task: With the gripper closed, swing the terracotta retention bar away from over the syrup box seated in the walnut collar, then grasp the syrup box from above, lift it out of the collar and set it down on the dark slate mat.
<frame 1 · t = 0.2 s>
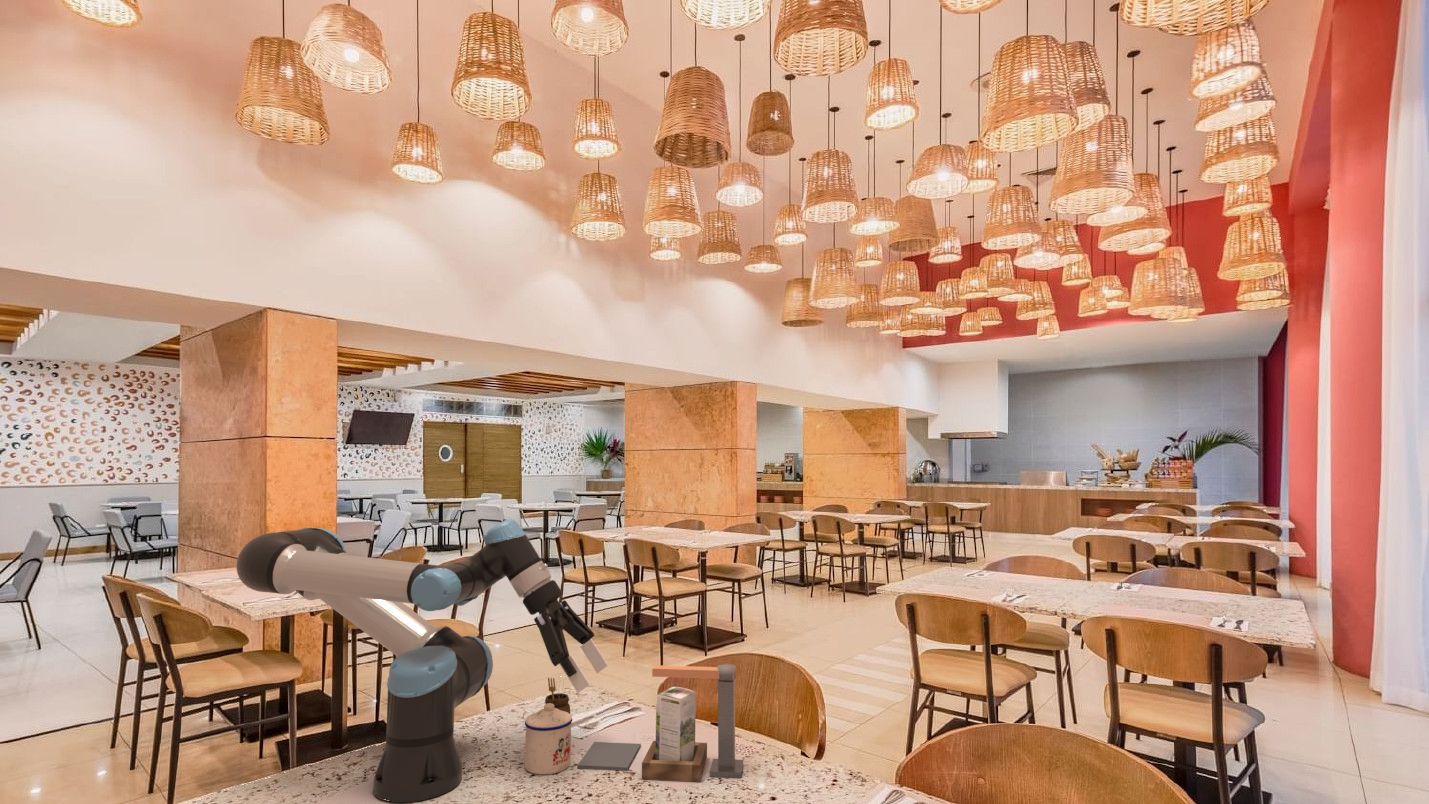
hand: (594, 678, 142), 16 cm above the table, tool tilted 35°, fingers open, 13 cm apart
utensil holder: (556, 730, 159), on the table
syrup box: (675, 769, 138), resting in socket collar
teacup with lid: (550, 764, 140), on the table
clip post: (726, 770, 137), on the table
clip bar: (694, 670, 139), point 18 cm above the table, hinge at 0.0°
slate mat: (610, 757, 143), on the table
socket collar: (675, 768, 138), on the table
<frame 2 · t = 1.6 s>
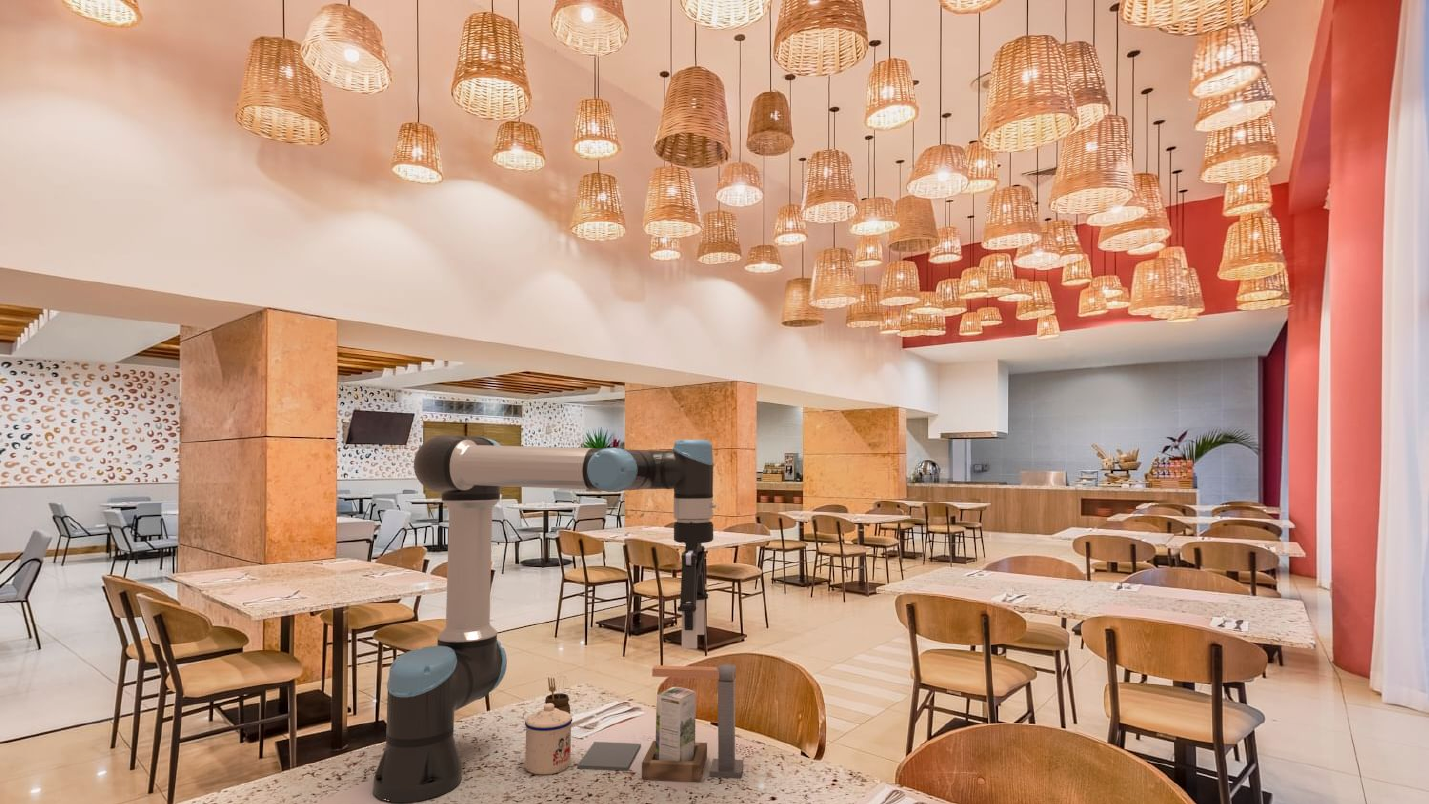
hand: (693, 640, 133), 26 cm above the table, tool pointing down, fingers open, 10 cm apart
nothing on the table moved.
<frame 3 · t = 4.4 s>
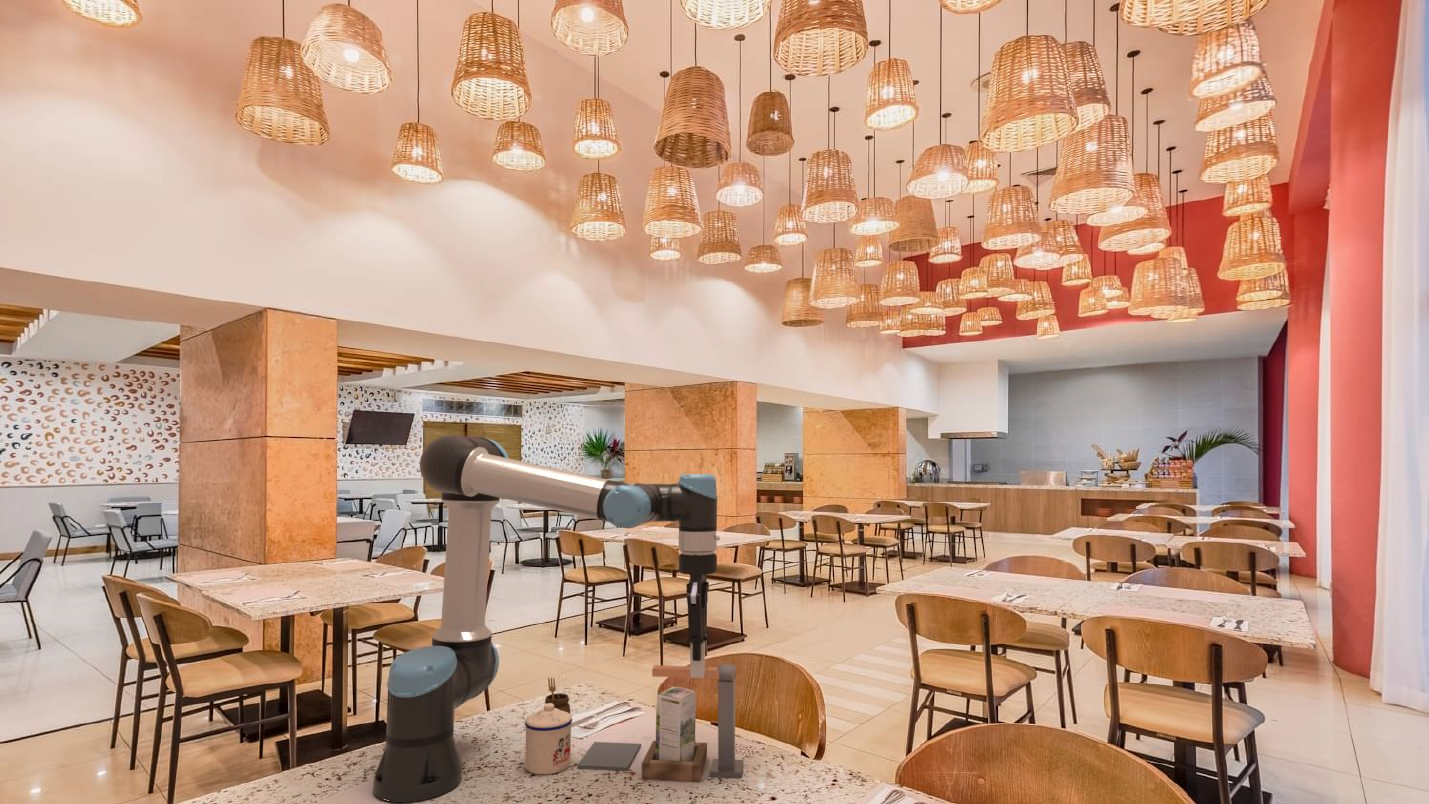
hand: (697, 676, 137), 18 cm above the table, tool pointing down, fingers closed
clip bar: (694, 670, 139), point 18 cm above the table, hinge at 0.3°, touching gripper
everything else where it was.
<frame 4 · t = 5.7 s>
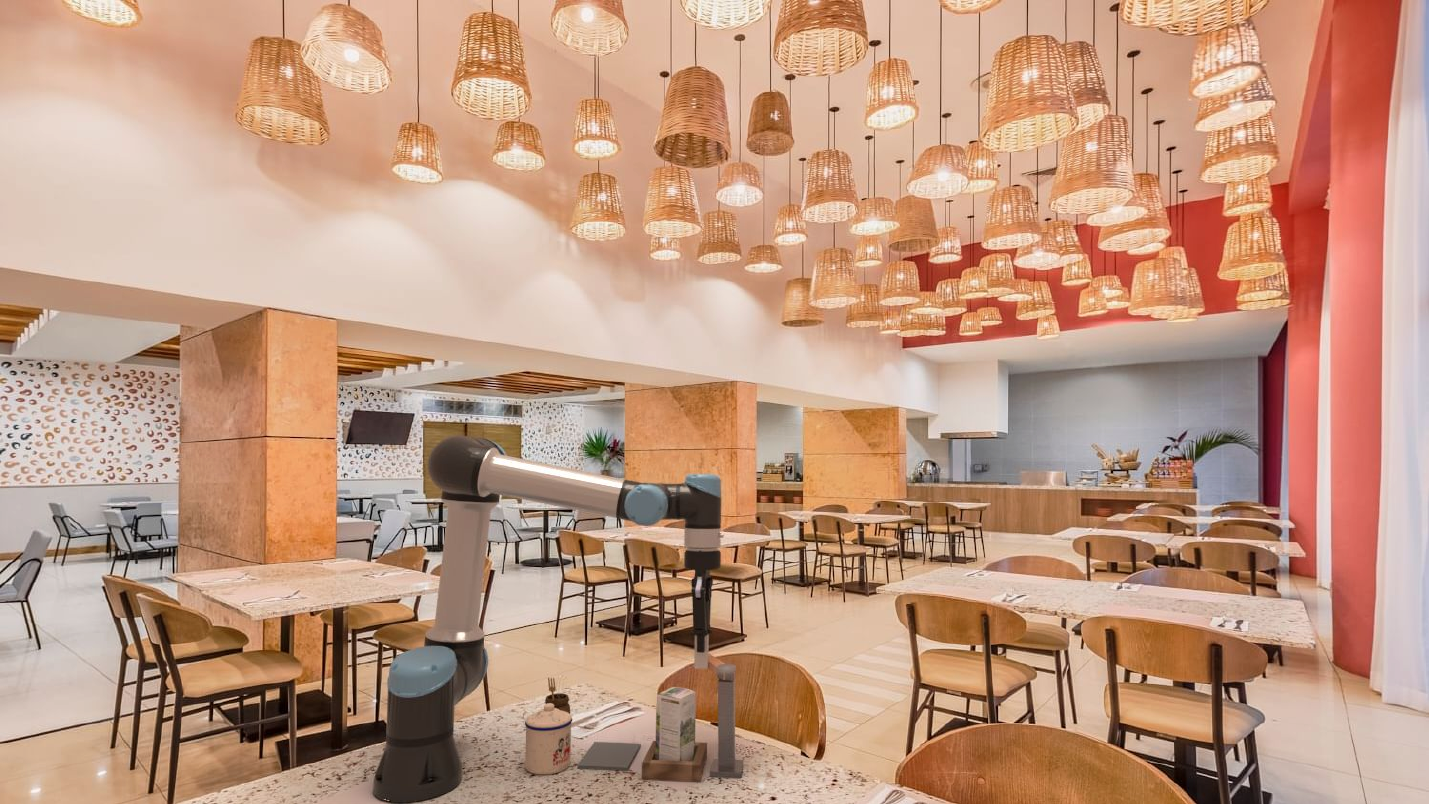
hand: (701, 667, 143), 18 cm above the table, tool pointing down, fingers closed
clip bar: (714, 663, 144), point 18 cm above the table, hinge at 62.1°, touching gripper
everything else where it was.
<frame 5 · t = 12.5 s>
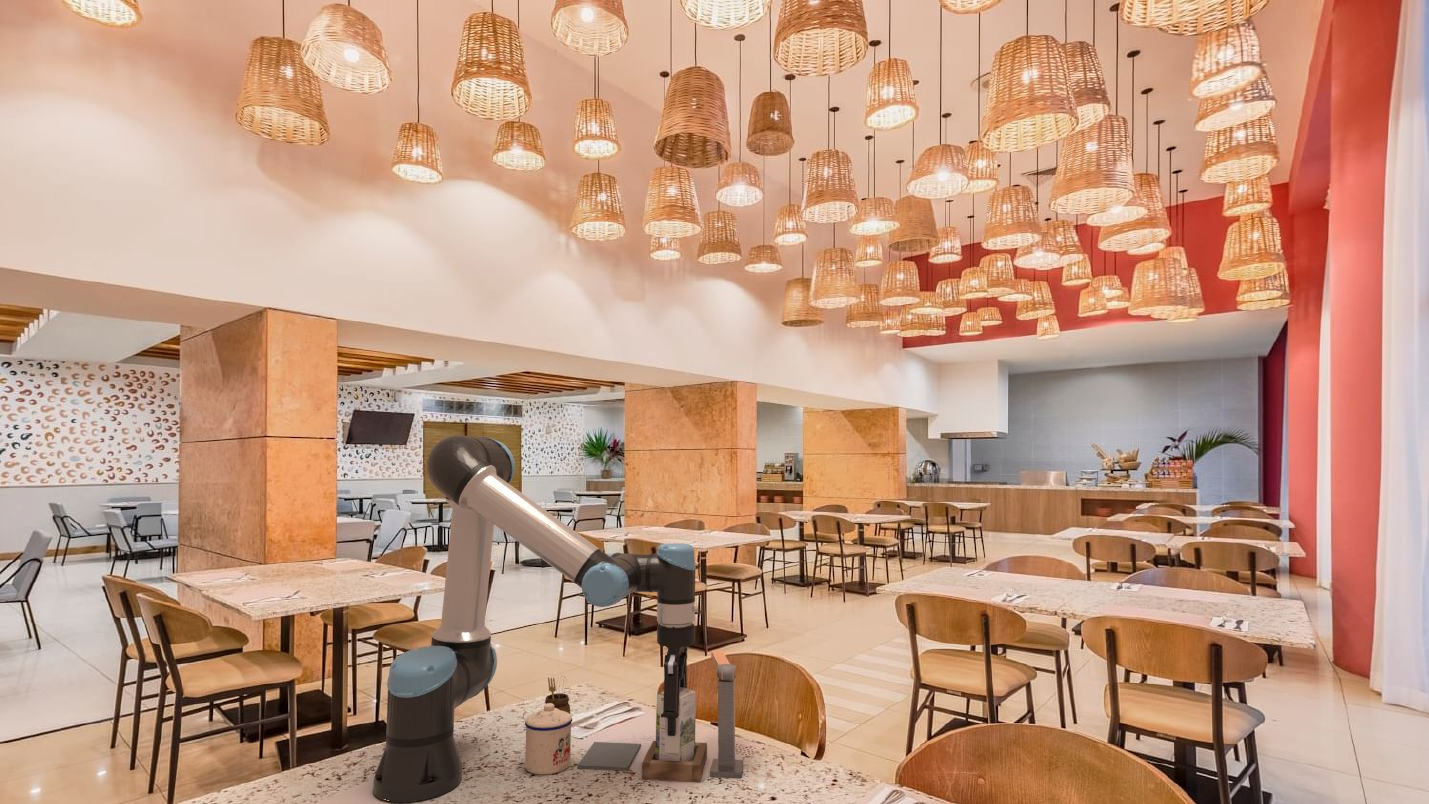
hand: (675, 743, 138), 5 cm above the table, tool pointing down, fingers closed on syrup box, 7 cm apart
syrup box: (675, 769, 138), resting in socket collar, touching gripper
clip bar: (722, 663, 145), point 18 cm above the table, hinge at 76.4°
everything else where it was.
when the fingers open (7 cm above the table, at t = 19.2 s): syrup box drops 1 cm, resting on slate mat.
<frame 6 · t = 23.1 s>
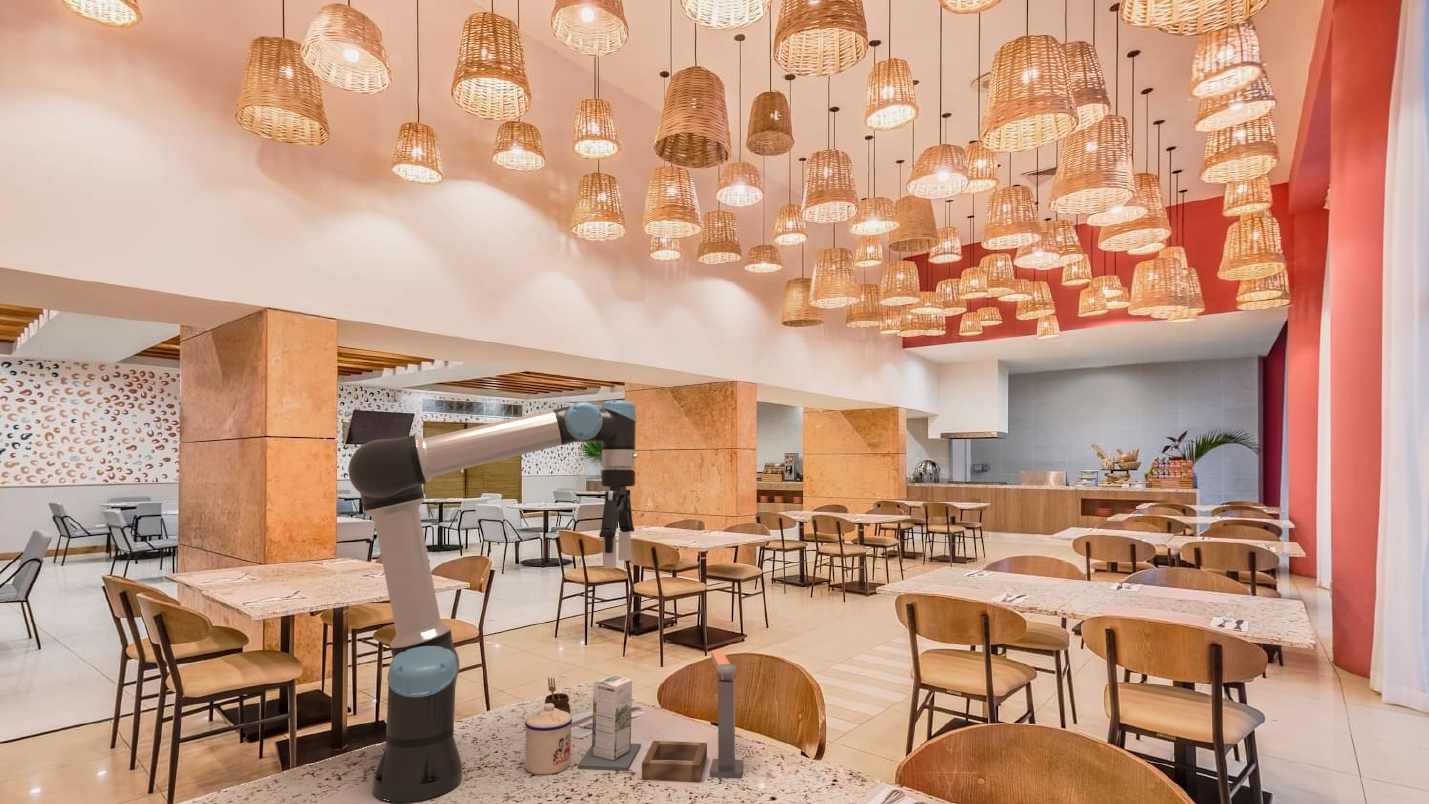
hand: (617, 564, 159), 37 cm above the table, tool pointing down, fingers open, 13 cm apart
syrup box: (611, 754, 143), resting on slate mat
everything else where it was.
at the end: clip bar at +76° (first picture: +0°); syrup box inside the target area (0.3 cm from its centre), resting on slate mat; syrup box tilted 0° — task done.
